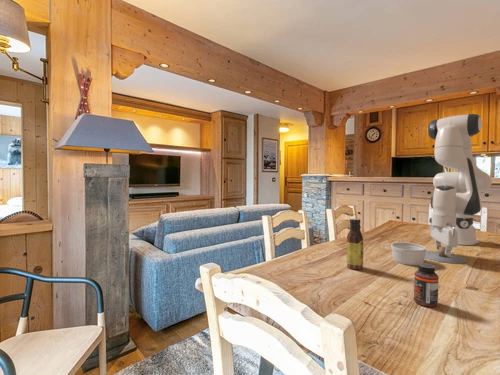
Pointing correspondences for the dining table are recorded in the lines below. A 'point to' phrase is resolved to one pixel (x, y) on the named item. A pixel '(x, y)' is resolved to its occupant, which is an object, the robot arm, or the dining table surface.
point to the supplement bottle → (426, 285)
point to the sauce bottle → (355, 245)
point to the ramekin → (408, 253)
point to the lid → (444, 257)
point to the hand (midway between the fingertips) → (442, 252)
